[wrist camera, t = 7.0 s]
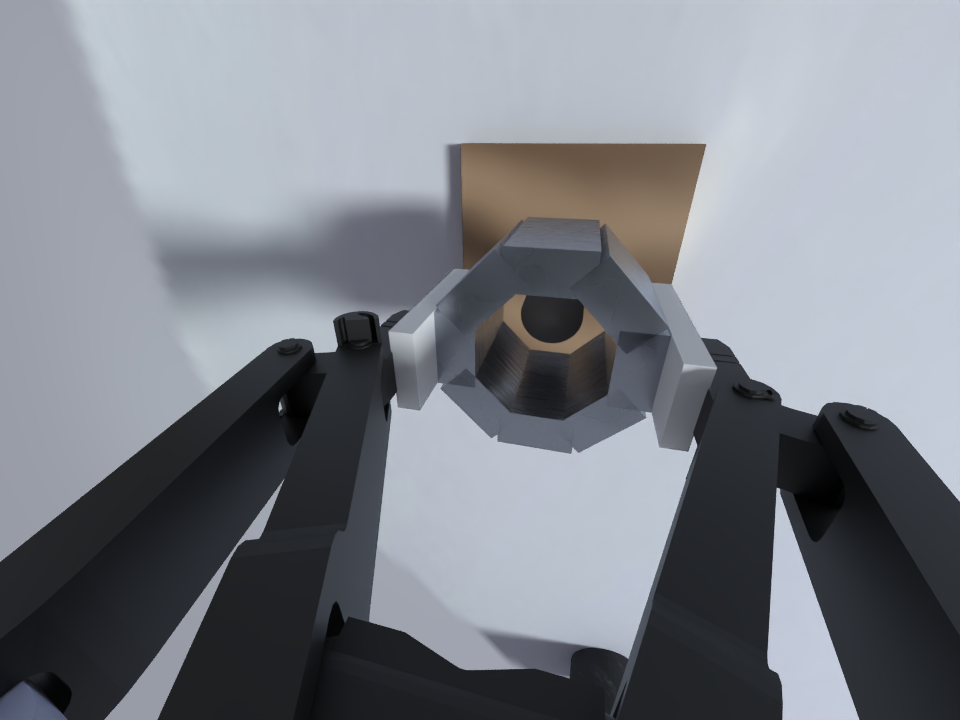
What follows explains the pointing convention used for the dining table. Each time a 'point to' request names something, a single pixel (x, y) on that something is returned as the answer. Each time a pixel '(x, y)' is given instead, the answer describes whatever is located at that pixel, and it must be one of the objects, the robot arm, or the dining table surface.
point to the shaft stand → (577, 214)
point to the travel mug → (599, 671)
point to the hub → (543, 374)
